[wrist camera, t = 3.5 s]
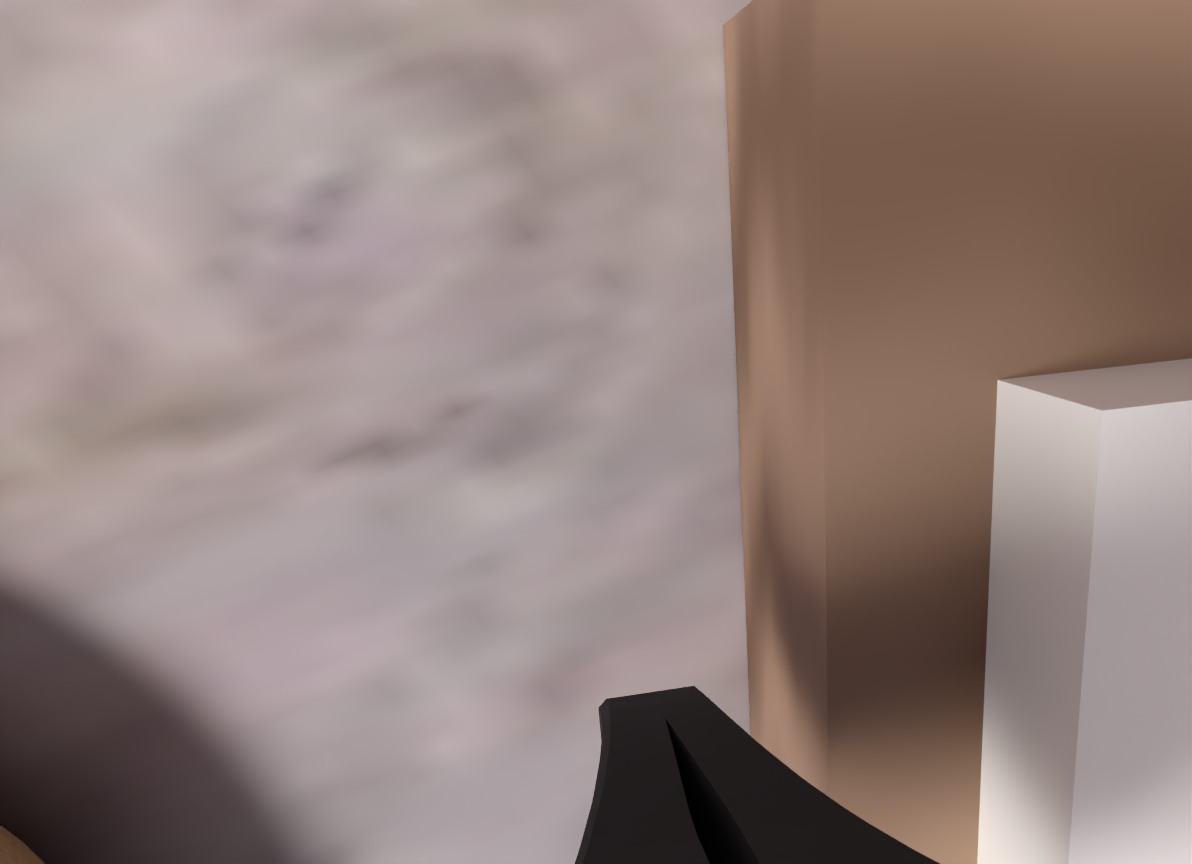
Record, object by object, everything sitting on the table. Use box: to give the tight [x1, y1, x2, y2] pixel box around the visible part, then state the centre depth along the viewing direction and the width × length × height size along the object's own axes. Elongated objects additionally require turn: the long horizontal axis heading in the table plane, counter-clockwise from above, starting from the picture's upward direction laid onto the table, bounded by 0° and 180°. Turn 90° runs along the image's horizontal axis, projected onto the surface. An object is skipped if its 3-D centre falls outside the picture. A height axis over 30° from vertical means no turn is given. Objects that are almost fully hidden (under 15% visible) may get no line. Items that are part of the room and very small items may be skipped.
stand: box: [724, 0, 1192, 864], centre depth 15 cm, size 20×14×4 cm
